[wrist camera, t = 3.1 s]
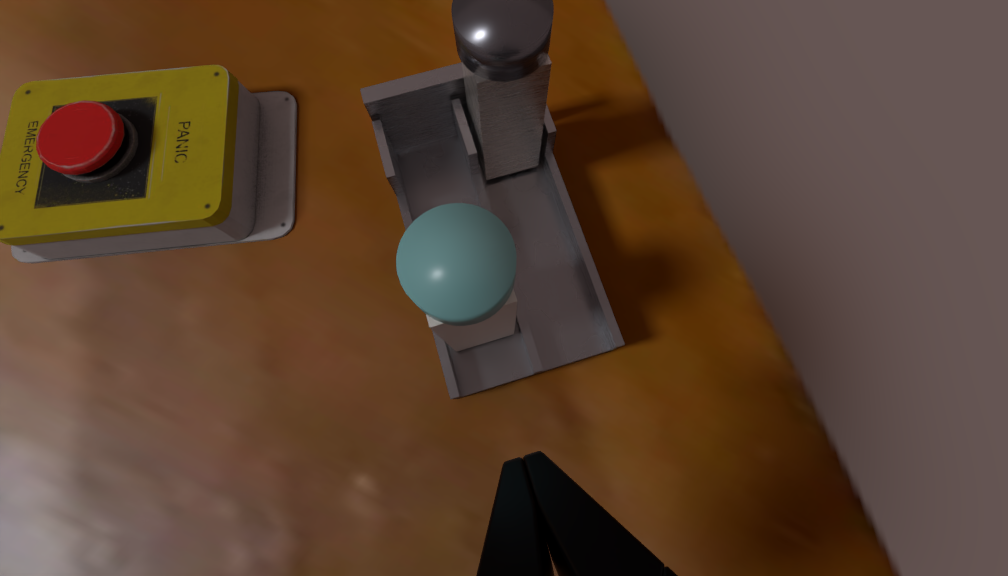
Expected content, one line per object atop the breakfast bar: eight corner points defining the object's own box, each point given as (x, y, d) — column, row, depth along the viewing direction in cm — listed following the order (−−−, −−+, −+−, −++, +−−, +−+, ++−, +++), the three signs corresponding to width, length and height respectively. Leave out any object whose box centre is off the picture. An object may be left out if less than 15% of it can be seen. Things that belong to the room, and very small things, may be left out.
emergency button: (-44, 64, 21) (260, 37, 21) (49, 119, 25) (301, 96, 26) (-89, 239, 19) (252, 206, 19) (21, 268, 23) (298, 241, 23)
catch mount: (612, 350, 21) (698, 310, 12) (456, 399, 21) (413, 399, 11) (526, 117, 25) (538, -63, 15) (390, 153, 24) (313, -9, 14)
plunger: (522, 338, 20) (532, 296, 12) (451, 360, 20) (412, 333, 12) (500, 271, 21) (496, 189, 13) (433, 291, 20) (384, 221, 12)
